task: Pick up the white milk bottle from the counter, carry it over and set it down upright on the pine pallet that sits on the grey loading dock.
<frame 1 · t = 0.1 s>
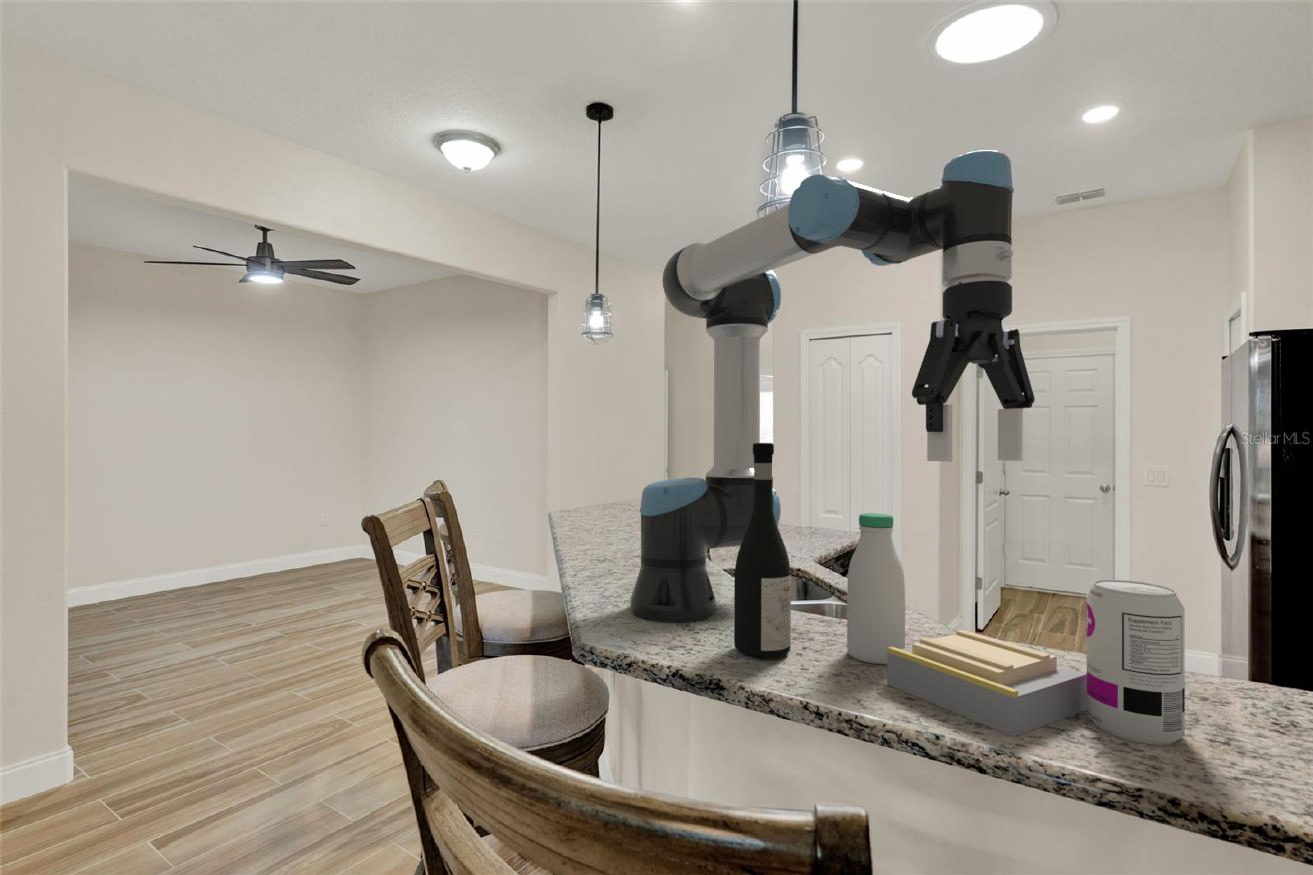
hand: (976, 461, 76), 28 cm above the countertop, tool pointing down, fingers open, 13 cm apart
supplement can: (1133, 731, 66), on the countertop
dock: (982, 696, 75), on the countertop
milk bottle: (875, 657, 89), on the countertop
wine bottle: (762, 653, 90), on the countertop
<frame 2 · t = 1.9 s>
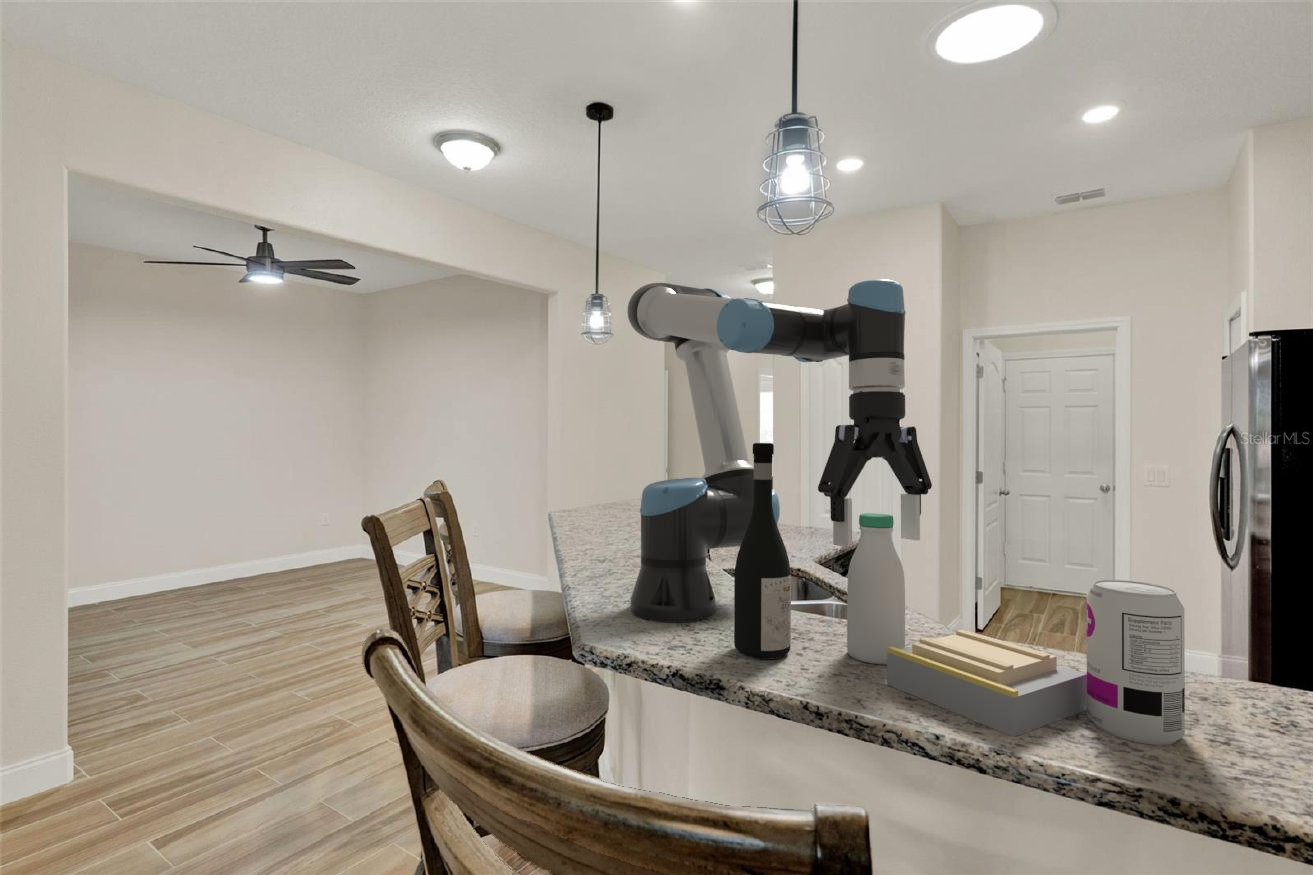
hand: (877, 542, 88), 16 cm above the countertop, tool pointing down, fingers open, 13 cm apart
nothing on the countertop moved.
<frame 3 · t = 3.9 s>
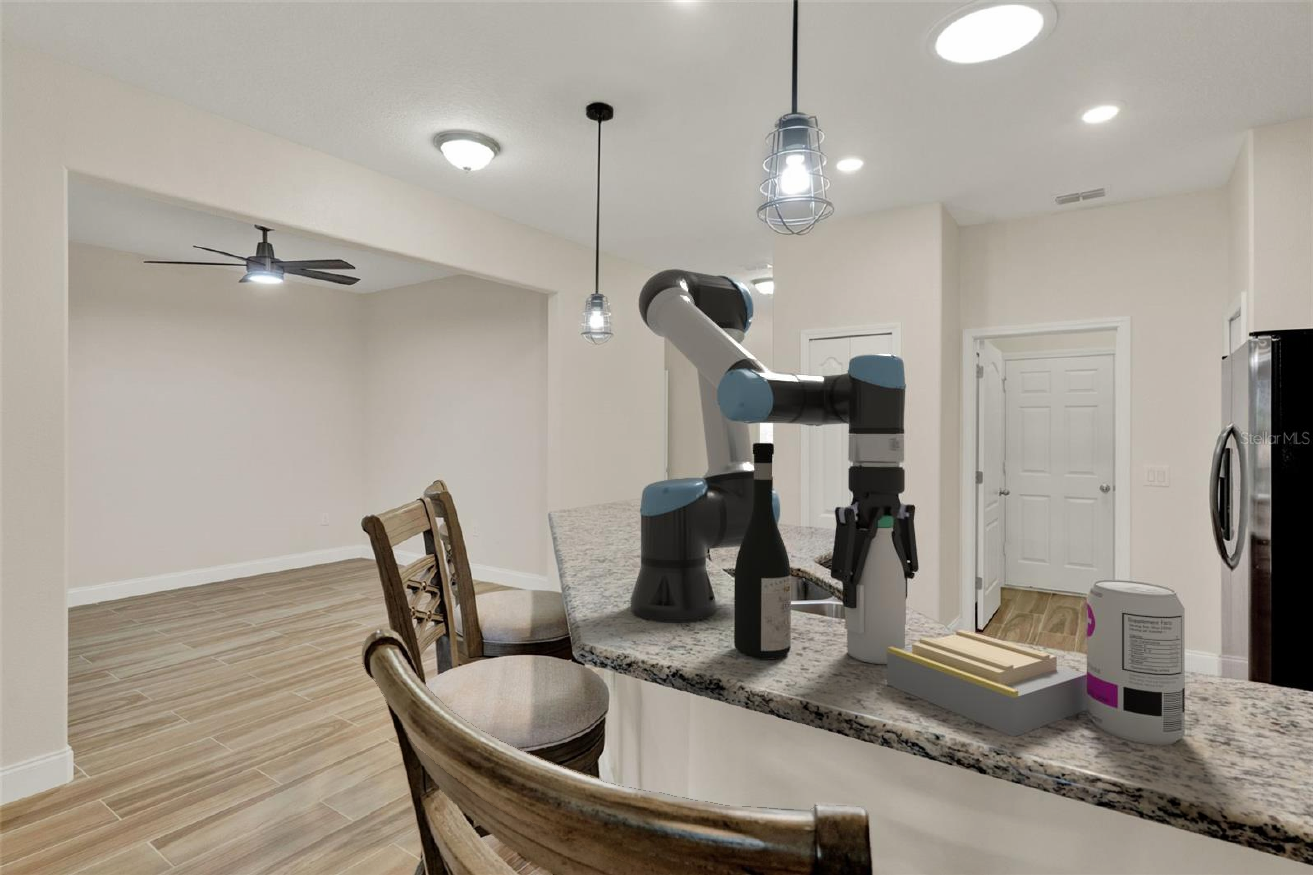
hand: (875, 626, 89), 4 cm above the countertop, tool pointing down, fingers closed on milk bottle, 8 cm apart
milk bottle: (875, 657, 89), on the countertop, touching gripper
everything else where it was.
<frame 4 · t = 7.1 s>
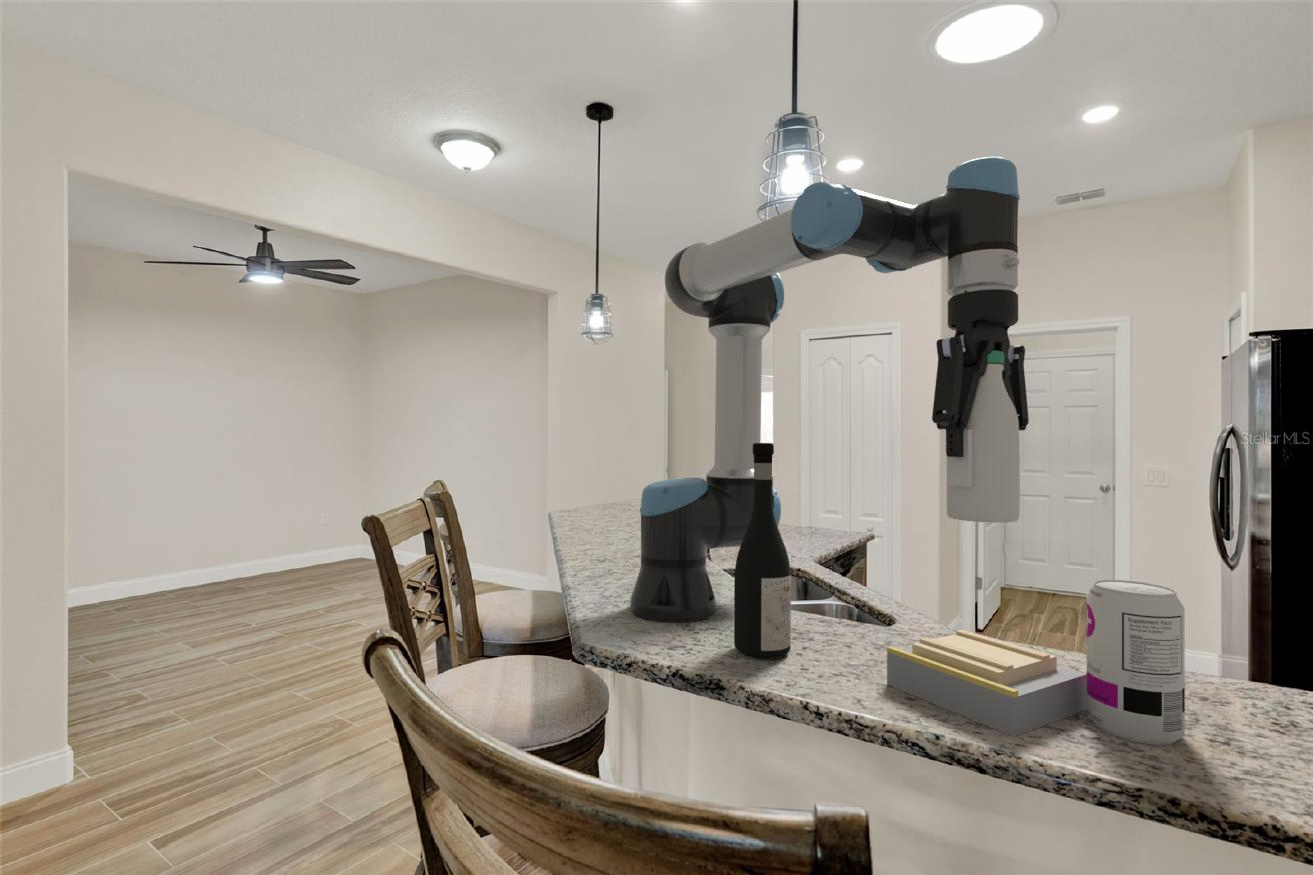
hand: (982, 484, 75), 25 cm above the countertop, tool pointing down, fingers closed on milk bottle, 8 cm apart
milk bottle: (982, 521, 75), point 21 cm above the countertop, touching gripper
everything else where it was.
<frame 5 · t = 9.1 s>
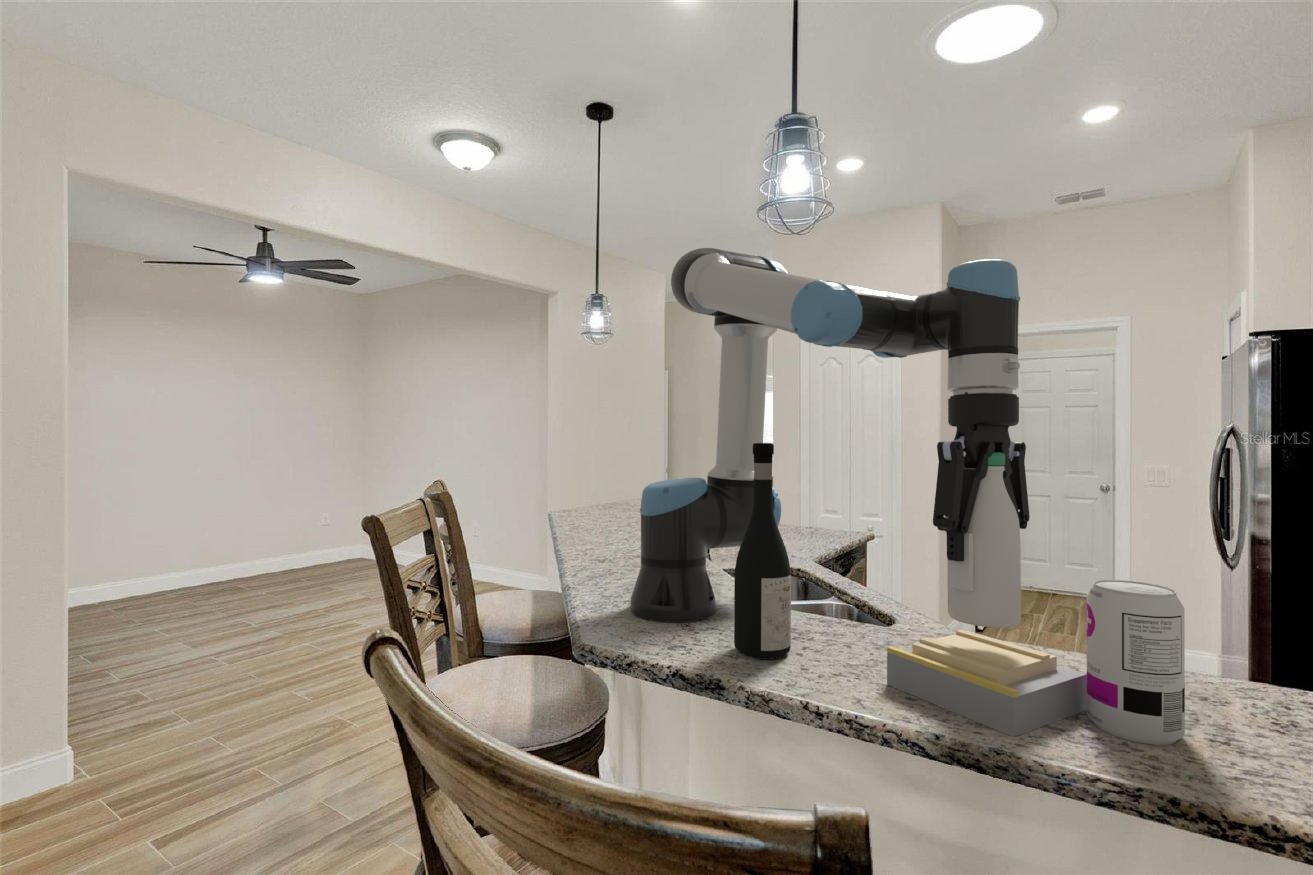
hand: (982, 584, 75), 13 cm above the countertop, tool pointing down, fingers closed on milk bottle, 8 cm apart
milk bottle: (983, 622, 75), point 9 cm above the countertop, touching gripper
everything else where it was.
when the fingers open (11 cm above the countertop, at t = 10.5 s): milk bottle stays where it is, resting on dock.
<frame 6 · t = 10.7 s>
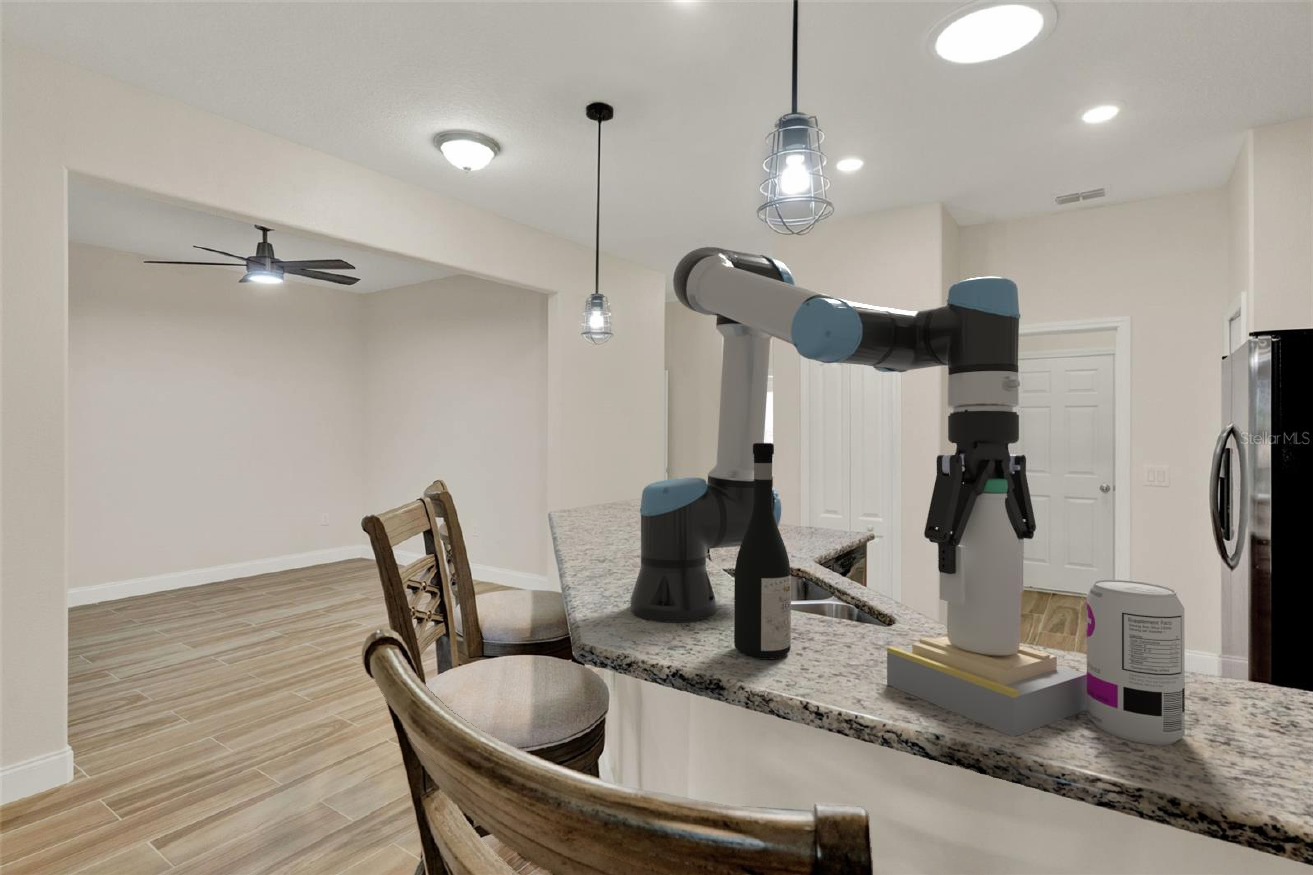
hand: (982, 596, 75), 12 cm above the countertop, tool pointing down, fingers open, 10 cm apart
milk bottle: (982, 647, 75), point 6 cm above the countertop, touching dock
everything else where it was.
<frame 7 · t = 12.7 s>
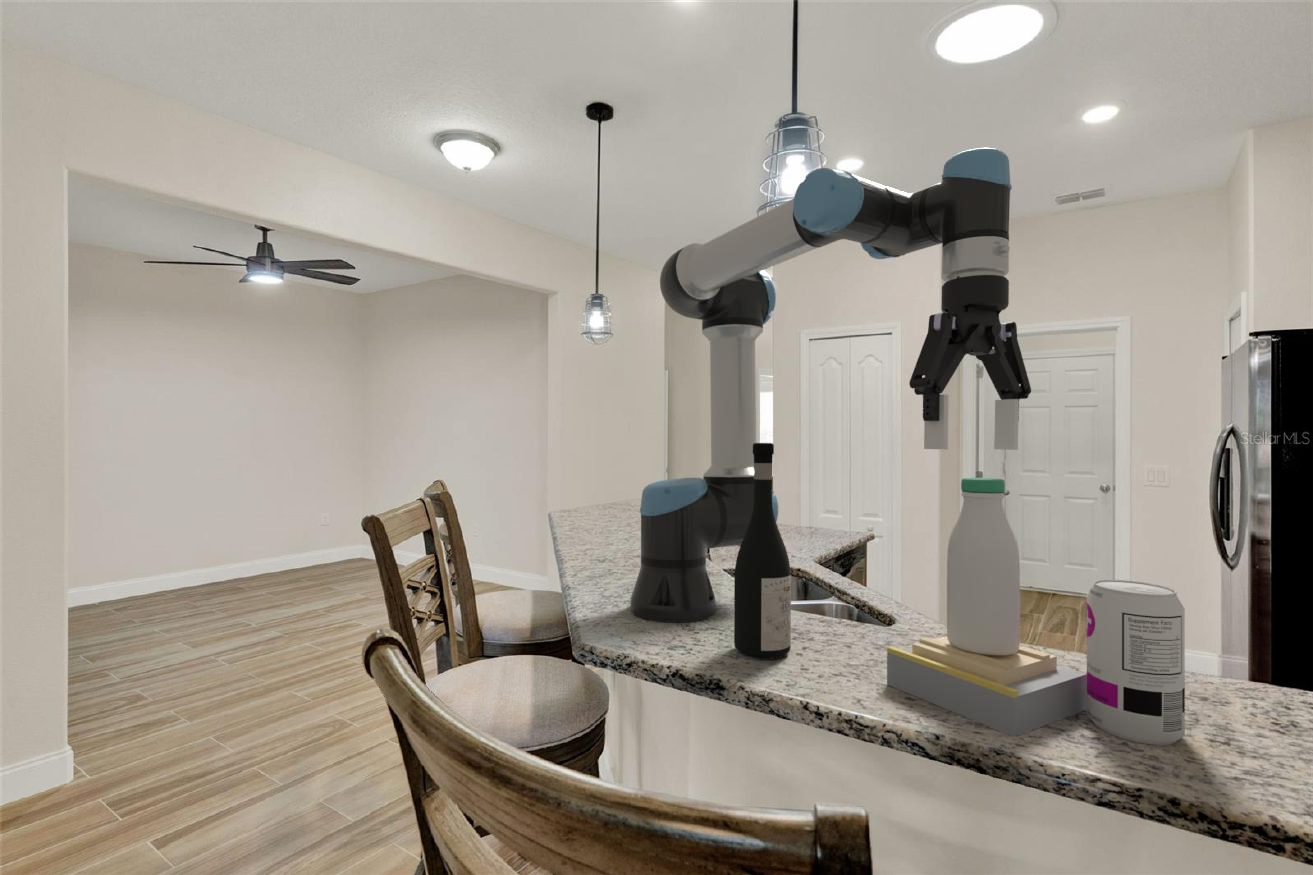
hand: (972, 449, 79), 29 cm above the countertop, tool pointing down, fingers open, 13 cm apart
nothing on the countertop moved.
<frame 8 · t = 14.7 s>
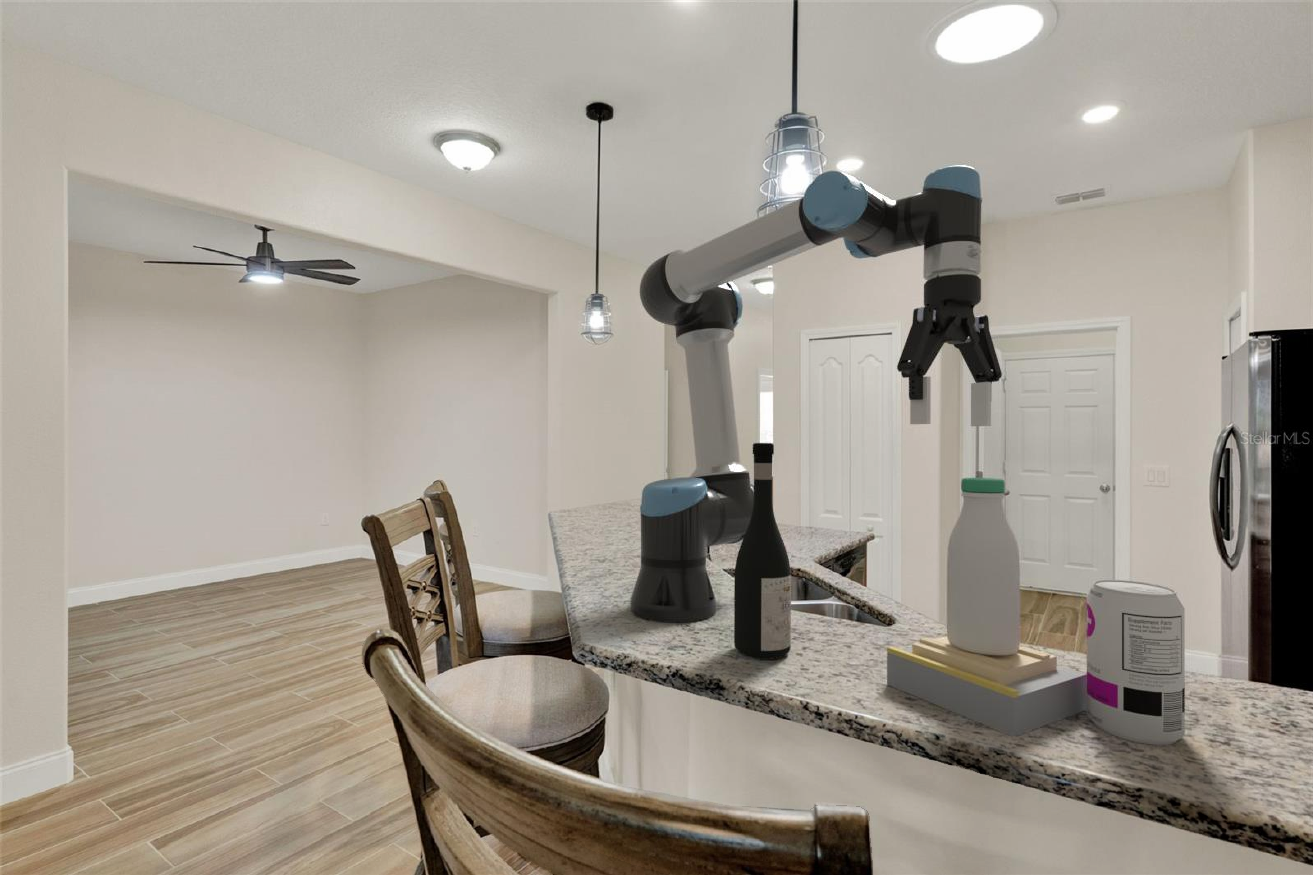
hand: (951, 425, 91), 33 cm above the countertop, tool pointing down, fingers open, 13 cm apart
nothing on the countertop moved.
at the end: milk bottle inside the target area on the dock (0.0 cm from its centre), point 5.7 cm above the dock's base; milk bottle tilted 0°; the gripper is holding nothing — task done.
